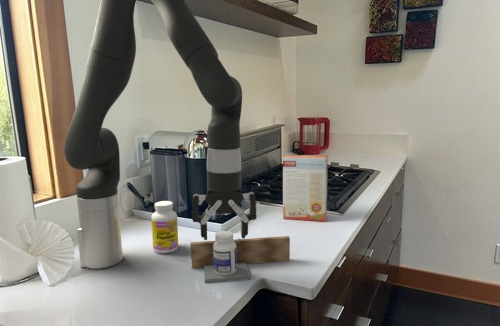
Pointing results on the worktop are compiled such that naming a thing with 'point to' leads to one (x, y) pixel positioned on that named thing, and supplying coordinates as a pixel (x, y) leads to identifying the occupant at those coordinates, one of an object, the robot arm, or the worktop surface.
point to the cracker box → (305, 187)
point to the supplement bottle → (164, 228)
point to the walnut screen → (245, 251)
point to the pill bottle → (224, 253)
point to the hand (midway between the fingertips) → (224, 238)
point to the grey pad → (240, 274)
